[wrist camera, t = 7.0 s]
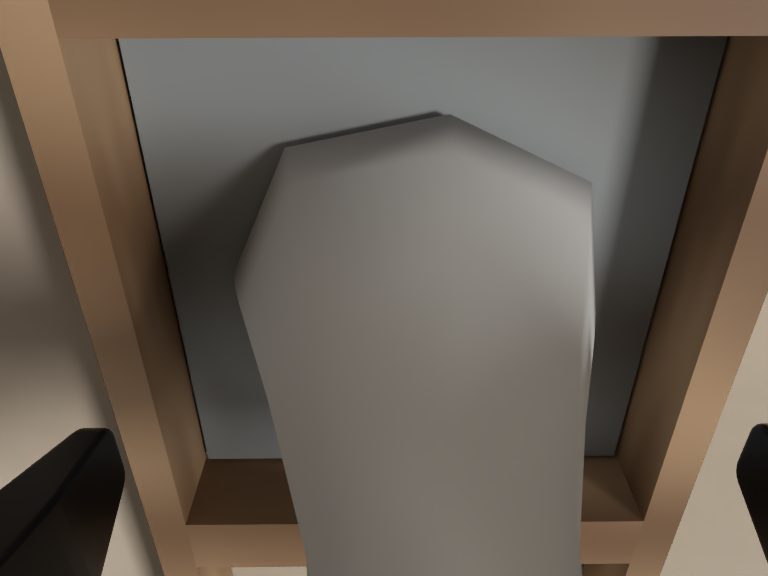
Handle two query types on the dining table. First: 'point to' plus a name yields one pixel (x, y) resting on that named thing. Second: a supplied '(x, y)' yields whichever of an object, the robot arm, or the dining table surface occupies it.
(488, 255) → the flask
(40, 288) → the dining table surface
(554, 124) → the caddy
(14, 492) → the robot arm
